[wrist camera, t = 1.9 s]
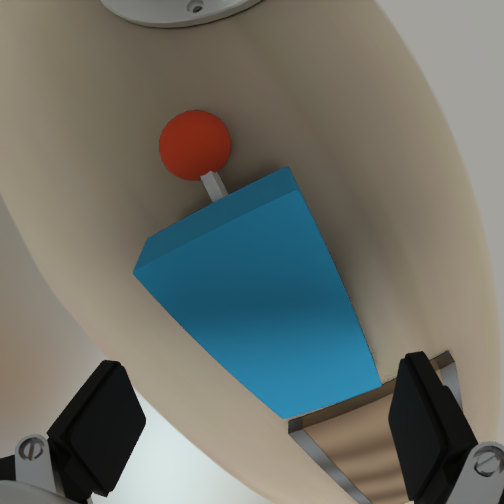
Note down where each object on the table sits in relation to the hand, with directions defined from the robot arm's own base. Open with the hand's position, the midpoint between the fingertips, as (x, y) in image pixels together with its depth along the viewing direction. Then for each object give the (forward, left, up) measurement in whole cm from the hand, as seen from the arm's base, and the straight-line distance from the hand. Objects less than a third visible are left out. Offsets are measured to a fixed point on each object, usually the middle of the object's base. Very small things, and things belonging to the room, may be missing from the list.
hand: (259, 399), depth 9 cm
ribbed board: (+20, +11, -9) cm, 25 cm away
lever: (-1, 0, -9) cm, 9 cm away
